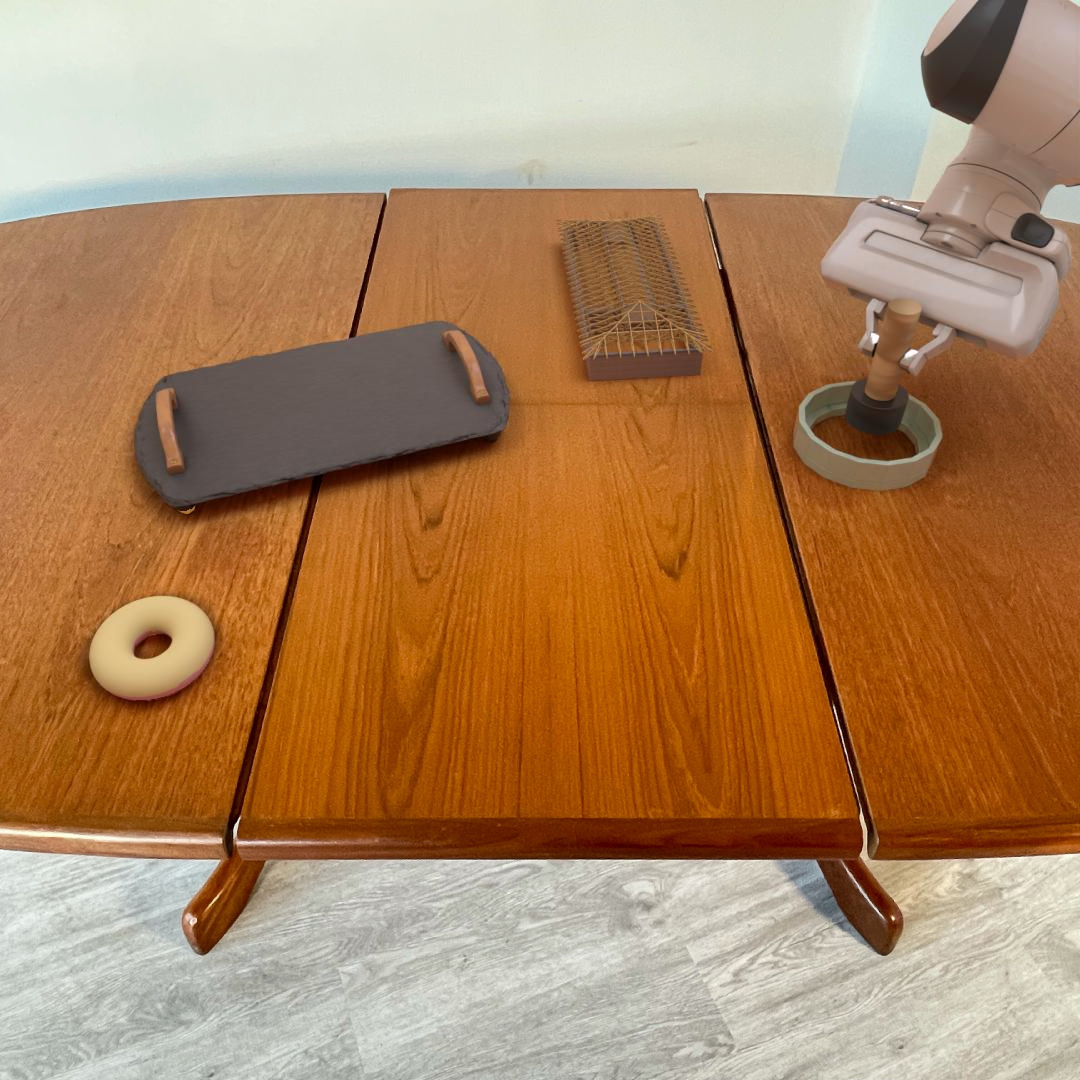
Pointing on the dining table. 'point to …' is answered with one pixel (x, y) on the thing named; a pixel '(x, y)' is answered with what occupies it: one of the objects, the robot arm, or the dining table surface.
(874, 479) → the pale green band ring
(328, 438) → the serving tray
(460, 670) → the dining table surface
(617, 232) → the rafter model
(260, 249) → the dining table surface
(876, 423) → the wooden peg with base
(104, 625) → the donut
